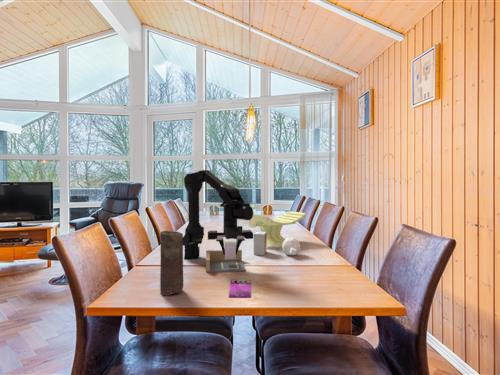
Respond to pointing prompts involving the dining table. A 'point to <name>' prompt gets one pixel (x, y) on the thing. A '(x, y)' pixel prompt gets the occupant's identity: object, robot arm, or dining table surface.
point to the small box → (260, 243)
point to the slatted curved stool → (275, 226)
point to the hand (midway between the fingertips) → (230, 255)
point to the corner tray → (223, 262)
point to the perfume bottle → (291, 246)
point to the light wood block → (230, 250)
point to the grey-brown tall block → (171, 262)
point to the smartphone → (240, 289)
